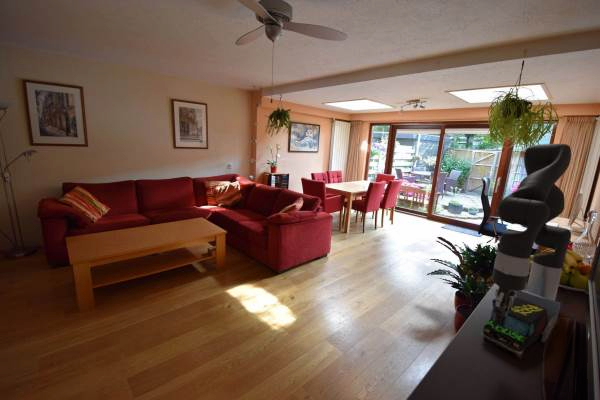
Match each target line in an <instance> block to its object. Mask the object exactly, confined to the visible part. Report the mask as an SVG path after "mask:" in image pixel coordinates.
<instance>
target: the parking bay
mask: <svg viewBox="0 0 600 400" xmlns="http://www.w3.org/2000/svg"><path fill="white" fill-rule="evenodd" d="M515 292H517V295H516V297H515V298H519V299H522V300H525V301H528V302H531V303H533V304H536V305H538V306H540V307H543V308H545V309H546V310H547V325H546V328H545V329H544V331H543V332H542V337H541V340H540V341H541V342H542V343H545V342H546V341H547V339H548V337H549V336H550V334H551V332H552V331H551V329H552V327H553V326H554V327H555V325H556V324H557V320H558V316H559V312H560V309H561V304H562V303H561V302H559V301H556V300H555V301H553V300H550V299H548V298H545V297H542V296H539V295H536V294H533V293H530V292H527V291H526V290H525V289H524V290H522V291H515ZM494 313H495V312H494V311H493V308H492V310H491V314H490V319H491V318H492V316H493V315H494ZM555 323H556V324H555ZM554 324H555V325H554ZM554 327H553V328H554ZM552 330H553V329H552ZM550 331H551V332H550ZM549 333H550V334H549ZM548 335H549V336H548Z"/></svg>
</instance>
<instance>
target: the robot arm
mask: <svg viewBox="0 0 600 400" xmlns="http://www.w3.org/2000/svg"><path fill="white" fill-rule="evenodd" d="M523 155H524V156H523V163H524V170H525V172H526V173H525V174H526V176H525V177H524V178H523V179H522V180H521V181H520V183H519V184H518V186H517V188H516V189H515V190H514V191H512V192H511V193H509V194H508V195H506V197H504V198H503V199H502V200H501V202H500V203H499V204H498V207H497V210H496V211H497V216H498V218H499V219H500V220H501V221H503V222H504V223H509V224H515V225H519V226H520V225H521V226H526V227H527V228H526V229H525V230H522V231H516V230H515V231H511V230H509V231H504V232H502V233H501V236H500V239H499V246H498V250H497V254H496V257H495V259H494V263H493V264H494V265H493V270H492V276H491V281H492V283H494V284H495V285H496V286H497V287H498V289H496V290H495V294H494V295H495V296H494V297H495V298H493V299H492V301H491V302H492V309H493V311H494V312H495V313H496V317H495V322H494V323H495V325H497V326H500V327H504V325H505V322H506V317H507V315H508V314H509V310H511V307H512V306H513V302H514V299H515V297H516V295H517V292H515V291H522V290H524V291H527V292H530V293H533V294H536V295H539V296H542V297H545V298H548V299H550V300H553V301H556V298H557V293H558V288H559V286H560V285H559V284H560V279H561V275H562V272H563V268H564V265H565V264H564V263H565V259H566V254H567V252H568V248H569V246H570V242H571V239H572V232H571V230H570V229H568V228H565V227H560V226H555V225H549V224H548V223H549V222H551V221H553V220H554V219H556V218H557V217H558V216H560V215H561V214H562V213H563V212H564V210H565V195H564V192H563V191H562V189H561V188H560V187H558V186H557V185H556V184H555V183H557V182H558V180H560V179H561V177H562V176H563V175H564V173H566V171H567V170H568V168H569V166H570V164H571V160H572V149H571V146H570V145H569V144H566V143H544V144H543V143H542V144H534V145H529V146H528V147H527V148H525V151H524V154H523ZM534 244H535V245H537V246H539V247H541V248H546V249H552V250H554V251H553V252H550V253H536V254H534V255H533V258H532V262H531V256H532V251H533V247H534ZM530 266H531V267H530ZM528 276H529V277H528ZM527 280H528V282H527ZM526 285H527V286H526ZM525 289H526V290H525Z"/></svg>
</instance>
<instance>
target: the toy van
mask: <svg viewBox="0 0 600 400" xmlns="http://www.w3.org/2000/svg"><path fill="white" fill-rule="evenodd" d="M495 317H496V313H494V315H493V316H492V318H491V317H490V319H489V320H488V321H487V322H485V324H484V326H483V331H482V332H481V336H482V338H483V339H484V340H485V341H491V342H492V343H493V344H496V345H497V346H499V347H501V348H503V349H505V350H506V351H509V352H511V353H514V355H515V357H516V358H518V359H522V358H523V357H524V353H525V350H526V349H527V348H528V347H530V346H531V345H532V344H533V343H534V342H535V341H536V340H537V341H538V340H540V338H541V335H542V334H543V331H544V329H545V328H546V326H547V324H548V321H547V310H546V309H545V308H543V307H540V306H538V305H536V304H533V303H531V302H528V301H525V300H522V299H519V298H515V299H514V302H513V306H512V307H511V310H509V314H508V315H507V317H506V322H505V325H504V327H500V326H497V325H495V323H494V322H495Z"/></svg>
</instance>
